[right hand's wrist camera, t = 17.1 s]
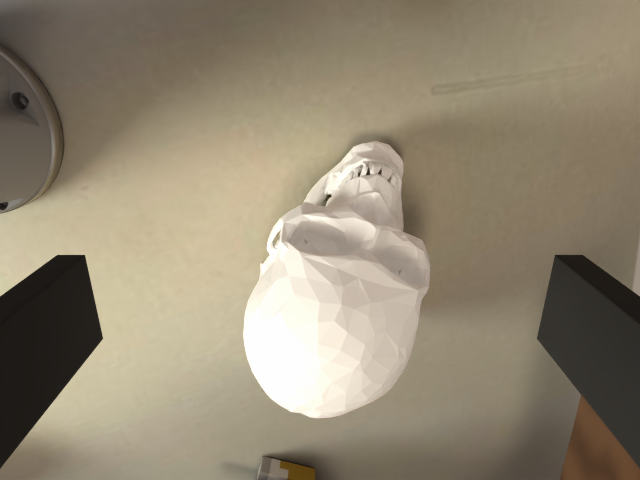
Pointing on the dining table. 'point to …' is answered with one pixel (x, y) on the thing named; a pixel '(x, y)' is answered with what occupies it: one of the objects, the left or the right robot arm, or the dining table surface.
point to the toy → (283, 470)
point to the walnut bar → (596, 451)
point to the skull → (339, 291)
